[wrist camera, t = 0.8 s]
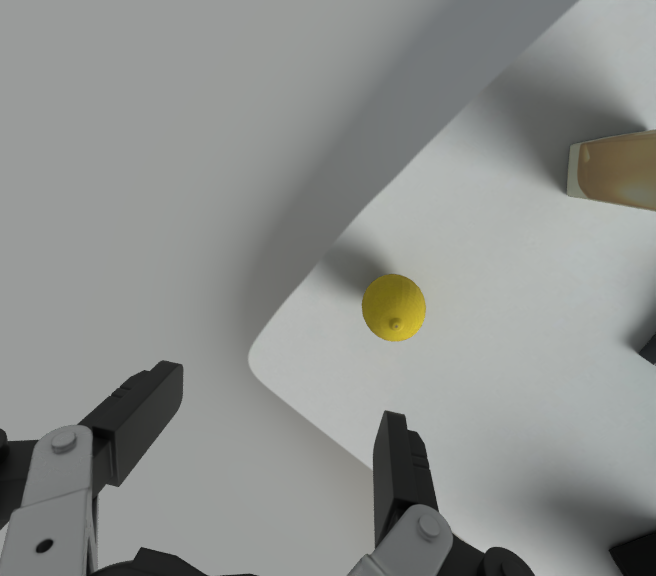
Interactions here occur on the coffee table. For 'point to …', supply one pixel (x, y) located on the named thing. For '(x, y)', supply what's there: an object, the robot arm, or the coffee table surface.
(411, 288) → the lemon
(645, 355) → the dark grey base plate
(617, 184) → the cosmetic box
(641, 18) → the coffee table surface
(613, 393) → the coffee table surface
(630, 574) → the camera
